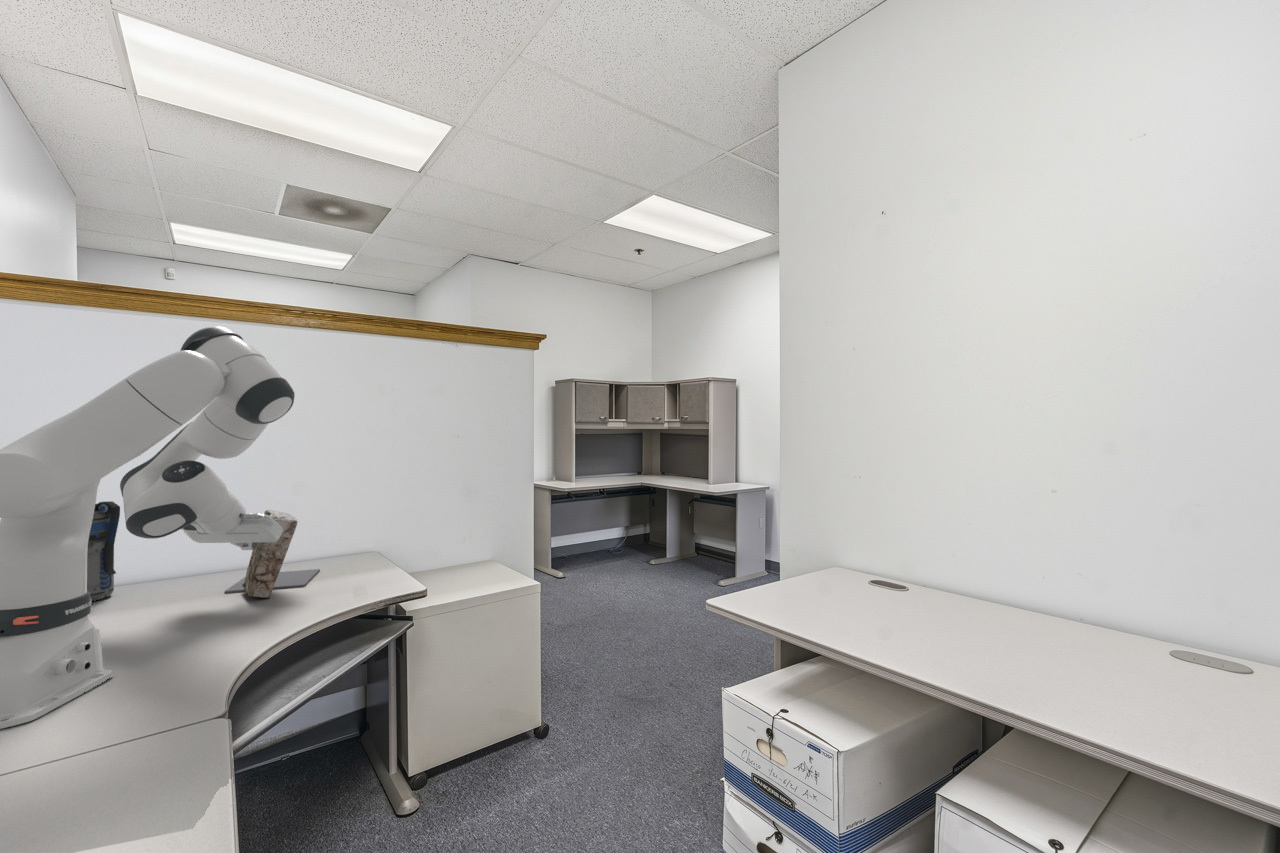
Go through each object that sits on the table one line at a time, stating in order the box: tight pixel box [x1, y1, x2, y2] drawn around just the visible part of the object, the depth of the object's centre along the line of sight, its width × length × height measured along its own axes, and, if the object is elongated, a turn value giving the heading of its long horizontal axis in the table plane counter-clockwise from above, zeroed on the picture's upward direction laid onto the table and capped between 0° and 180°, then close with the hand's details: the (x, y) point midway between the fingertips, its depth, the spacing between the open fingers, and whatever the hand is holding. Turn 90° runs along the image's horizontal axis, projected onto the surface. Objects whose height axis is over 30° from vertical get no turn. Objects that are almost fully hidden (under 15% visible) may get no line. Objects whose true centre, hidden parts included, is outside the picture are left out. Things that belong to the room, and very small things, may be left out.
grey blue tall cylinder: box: [87, 500, 121, 603], centre depth 136 cm, size 10×13×25 cm
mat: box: [223, 568, 321, 594], centre depth 152 cm, size 18×18×1 cm
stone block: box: [242, 509, 298, 599], centre depth 140 cm, size 13×7×20 cm, turn 47°
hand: (250, 547), depth 137 cm, fingers closed
